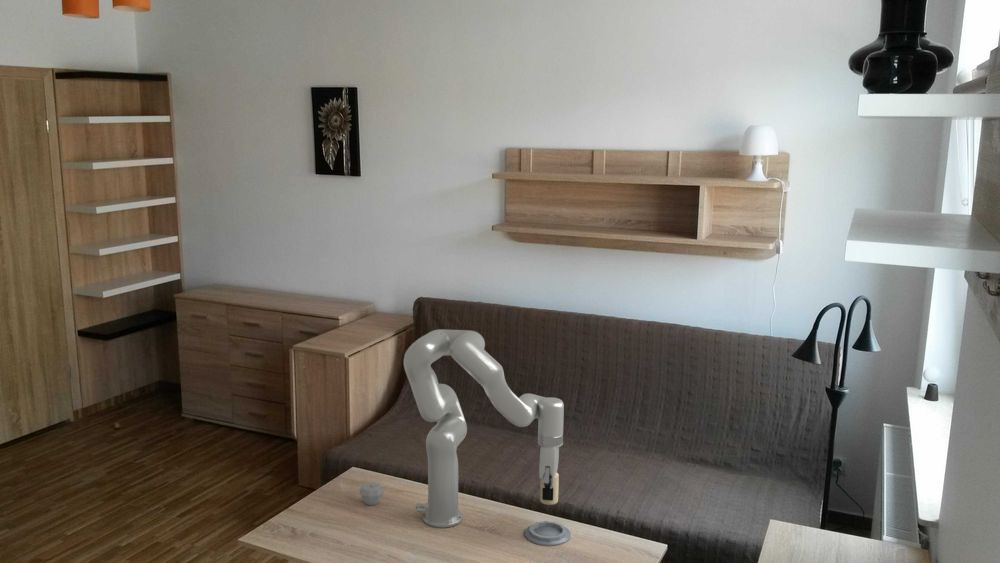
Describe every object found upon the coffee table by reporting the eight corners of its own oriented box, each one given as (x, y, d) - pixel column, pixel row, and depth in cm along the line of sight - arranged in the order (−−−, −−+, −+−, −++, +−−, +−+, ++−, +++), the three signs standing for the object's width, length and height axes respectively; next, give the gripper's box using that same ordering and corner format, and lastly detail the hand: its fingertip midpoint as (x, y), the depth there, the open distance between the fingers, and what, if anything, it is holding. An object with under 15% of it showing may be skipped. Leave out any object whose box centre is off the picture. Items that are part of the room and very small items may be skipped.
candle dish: (521, 543, 249) (521, 537, 249) (528, 522, 263) (528, 516, 262) (567, 548, 246) (568, 542, 246) (572, 526, 260) (572, 521, 260)
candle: (556, 505, 249) (557, 474, 248) (538, 503, 250) (539, 472, 249) (559, 498, 255) (560, 467, 253) (541, 496, 256) (542, 465, 254)
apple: (381, 508, 270) (381, 489, 269) (357, 508, 270) (357, 489, 269) (385, 498, 278) (385, 479, 277) (361, 497, 278) (361, 479, 277)
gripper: (542, 428, 258) (540, 483, 261) (533, 448, 242) (532, 506, 245) (566, 430, 257) (564, 485, 260) (559, 450, 240) (557, 508, 243)
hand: (549, 494), depth 252 cm, fingers closed on candle, 5 cm apart
